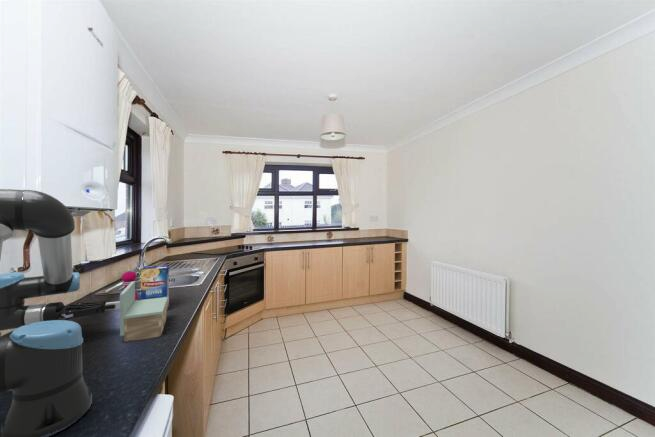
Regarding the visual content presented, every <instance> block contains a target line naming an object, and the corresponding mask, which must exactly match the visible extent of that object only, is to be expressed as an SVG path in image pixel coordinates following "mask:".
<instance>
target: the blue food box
mask: <svg viewBox="0 0 655 437" xmlns="http://www.w3.org/2000/svg"><path fill="white" fill-rule="evenodd" d="M169 269H170V265H169V264H163V265H149V266H148V265H147V266H143V267H142V268H141V269H140V300H145V299H154V298H163V297H168V300H167V303H166V312H167V311H168V310H169V307H170V303H169V302H170V298H169V297H170V294H169V293H170V290H169V289H170V281H169V280H170V278H169V277H170V275H169V274H170V272H169V271H170V270H169Z"/></svg>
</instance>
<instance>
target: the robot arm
mask: <svg viewBox="0 0 655 437" xmlns="http://www.w3.org/2000/svg"><path fill="white" fill-rule="evenodd" d="M23 192H24V193H23ZM22 197H23V200H22ZM75 224H76V223H75V219H74V216H73V214H72V212H71V211H70V209H68V207H67V206H66V205H65V204H64V203H63V202H62V201H60V200H59V199H57V198H56V197H54V196H52V195H50V194H48V193H45V192H43V191H38V190H35V189H34V190H33V189H13V188H12V189H11V188H10V189H9V188H8V189H7V188H5V189H4V188H0V260H1V258H2V250H3V242H5V241H7V240H9V239H11V238H12V236H13V233H14V231H21V230H22V231H23V230H24V231H25V230H31V232H32V234H33V235H35V236H36V237H37V241H38V247H39V254H40V261H41V266H42V267H41V269H42V275H39V276H29V277H26V276H25V274H24V273H23V272H7V273H1V274H0V394H4V393H7V392H10V391H11V392H12V395H11V396H12V400H11V403H10V406H9V409H8V411H7V414H6V418H5V420H3V423H2V425H1V428H0V437H41V436H43V435H45V434H48V433H52V432H54V431H56V430H59V429H61V428H63V427H65V426H67V425H69V424H70V423H72V422H74V421H75V420H77V419H78V418H80V417H81V416H82V415H83V414H84V413H85V412H86V411H87V410H88V409H89V408H90V406H91V404H92V405H93V395H92V394H93V393H92V392H91V390H90V389H89V387H88V385H87V382H86V380H85V379H84V376H83V343H84V337H83V333H82V332H83V331H82V326H81V325H80V324H79V323H78V322H76V321H73V319H76V318H82V317H86V316H87V317H88V316H92V315H97V314H101V313H102V314H105V313H106V311H112V310H113V311H114V310H120V300H118V301H117V300H116V301H110V302H108V301H107V300H104V301H100V300H99V301H85V302H84V301H79V302H77V303H73V304H69V305H67V306H66V305H64V302H62V301H58V302H49V303H47V302H46V303H38V304H37V303H36V304H30V305H29V304H28V305H25V303H26V302H25V300H26V299H33V298H39V297H46V296H53V295H60V294H61V295H62V294H68V293H73V292H77V291H79V290H80V288H81V287H80V286H81V280H80V279H81V278H80V277H81V275H80V272H73V271H74V270H73V256H72V255H73V252H72V251H73V250H72V235H71V234H72V233H73V232H74V231H75V227H76V226H75ZM7 330H13V331H12V332H11V333H10V335H9V336H6V337H1V336H2V331H7ZM91 407H92V406H91ZM90 409H91V408H90Z"/></svg>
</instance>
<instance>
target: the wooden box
mask: <svg viewBox="0 0 655 437" xmlns="http://www.w3.org/2000/svg"><path fill="white" fill-rule="evenodd" d="M166 321H167V311H166V305H165V308H164V311H163V313H162V314H158V315H150V316H143V317H135V318H128V319H124V335H123V340H124V342H123V343H130V342H135V341H141V340H146V339H153V338H159V337H162V335H163V332H164V329H165V325H166Z"/></svg>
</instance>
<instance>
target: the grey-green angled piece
mask: <svg viewBox="0 0 655 437" xmlns="http://www.w3.org/2000/svg"><path fill="white" fill-rule="evenodd" d="M135 291H136V280H135V281H133V282H131V283H130V284H129V285H128V286H127V287H126V288H125V289H124V288H123V290H122V291H121V293H120V294H119V301H120V309H119V336H120V337H121V336H124V319H128V318H135V317H143V316H150V315H158V314H162V313H163V311H164V308H165V305H166V303H167V300H168V297H163V298H154V299H145V300H141V299H137V300H136V301H135Z"/></svg>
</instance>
